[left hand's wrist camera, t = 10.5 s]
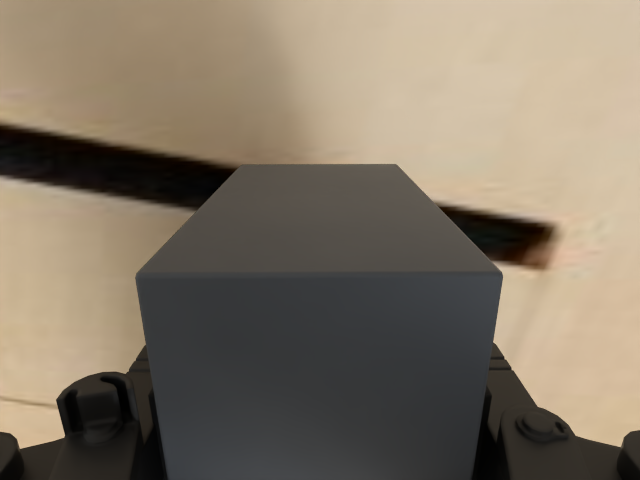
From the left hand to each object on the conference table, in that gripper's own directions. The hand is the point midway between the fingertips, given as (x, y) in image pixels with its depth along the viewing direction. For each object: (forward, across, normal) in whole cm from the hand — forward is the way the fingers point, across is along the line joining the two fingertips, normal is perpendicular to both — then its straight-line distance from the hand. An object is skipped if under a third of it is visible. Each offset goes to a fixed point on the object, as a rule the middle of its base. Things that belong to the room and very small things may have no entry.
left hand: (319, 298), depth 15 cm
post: (+1, 0, -21) cm, 21 cm away
